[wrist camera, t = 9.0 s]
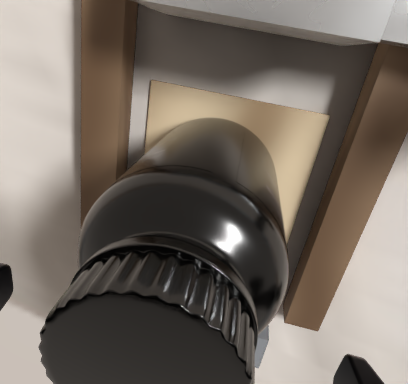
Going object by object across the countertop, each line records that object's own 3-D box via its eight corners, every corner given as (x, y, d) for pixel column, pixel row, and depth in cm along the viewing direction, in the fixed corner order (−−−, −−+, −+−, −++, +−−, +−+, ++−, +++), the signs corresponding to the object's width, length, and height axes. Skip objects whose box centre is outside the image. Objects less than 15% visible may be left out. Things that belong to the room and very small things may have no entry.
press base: (694, -55, 11) (988, -129, 7) (428, 341, 20) (477, 428, 15) (100, -137, 13) (13, -238, 9) (92, 255, 21) (46, 309, 17)
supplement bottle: (166, 233, 20) (45, 456, 9) (143, 122, 17) (-69, 244, 6) (280, 229, 18) (306, 491, 7) (274, 107, 16) (299, 233, 5)
